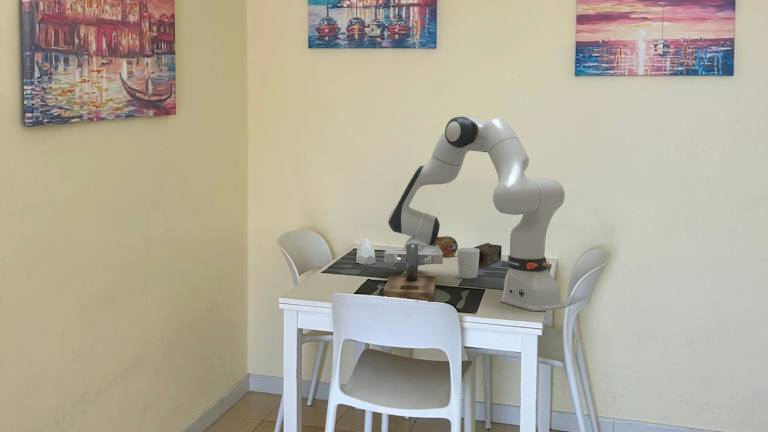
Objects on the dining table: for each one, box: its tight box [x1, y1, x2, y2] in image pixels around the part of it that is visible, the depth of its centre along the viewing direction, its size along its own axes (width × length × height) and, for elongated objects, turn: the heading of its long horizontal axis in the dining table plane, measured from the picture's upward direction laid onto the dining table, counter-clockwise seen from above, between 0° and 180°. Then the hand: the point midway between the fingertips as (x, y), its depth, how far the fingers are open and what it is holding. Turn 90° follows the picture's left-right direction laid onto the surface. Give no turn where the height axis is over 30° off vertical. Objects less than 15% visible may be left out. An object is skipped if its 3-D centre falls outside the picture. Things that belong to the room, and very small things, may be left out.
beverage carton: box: [472, 242, 502, 268], centre depth 336 cm, size 8×19×7 cm, turn 150°
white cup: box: [457, 247, 480, 280], centre depth 310 cm, size 8×8×10 cm
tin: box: [434, 235, 459, 258], centre depth 345 cm, size 15×3×8 cm, turn 104°
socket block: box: [382, 274, 437, 302], centre depth 286 cm, size 16×24×3 cm, turn 175°
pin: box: [405, 244, 419, 281], centre depth 290 cm, size 4×4×12 cm
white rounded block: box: [355, 236, 376, 265], centre depth 340 cm, size 7×7×24 cm
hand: (412, 261), depth 289 cm, fingers open, 8 cm apart
